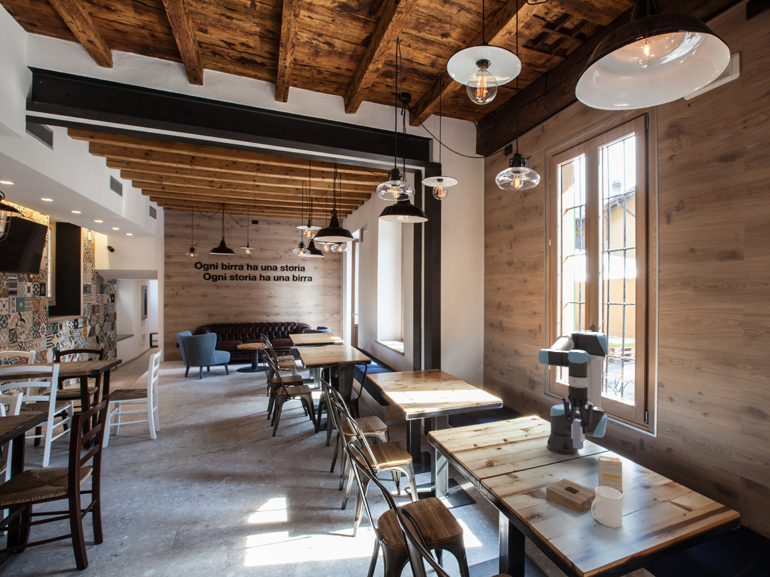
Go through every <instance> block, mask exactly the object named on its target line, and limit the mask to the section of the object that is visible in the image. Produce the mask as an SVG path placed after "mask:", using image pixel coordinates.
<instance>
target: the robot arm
mask: <svg viewBox="0 0 770 577" xmlns="http://www.w3.org/2000/svg"><path fill="white" fill-rule="evenodd" d="M609 351H610V350H609V345H608V339H607V335H606V334H605V333H604V332H595V331H578V330H577V331H575V330H574V331H567V332H564V333H562V334H560V335H559V336H557V337H556V338H555V341H554V343H553V344H552V345H551V346H550V347H549V348H541V349H539V351H538V358H537V359H538V363H539V364H540V365H543V366H544V365H545V366H553V367H562V368H563V367H564V368H568V376H567V377H568V379H567V380H568V382H567V383H568V388H567V389H568V393H567V394H568V395H567V396H566V397H562V398H561V400H562V404H555V405H553V406H551V408H550V434H549V436H548V439H547V443H546V446H547V449H548V450H550V451H551V452H554V453H556V454H561V455H569V456H570V455H576V454H578V452H579V449H576V448H574V447H573V420H574V419H580V420H581V424H582V425H581V426H580V442H583V443H584V442H585V441H586V436H589V437H590V436H591V437H597V438H603V437H604V436H605V434H606V430H607V425H608V415H607V414H606V413H605V410H604V409H603V408H602V374H603V373H602V372H603V371H602V369H603V367H602V366H603V361H604V360H605V359H606V356H608V355H609Z"/></svg>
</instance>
